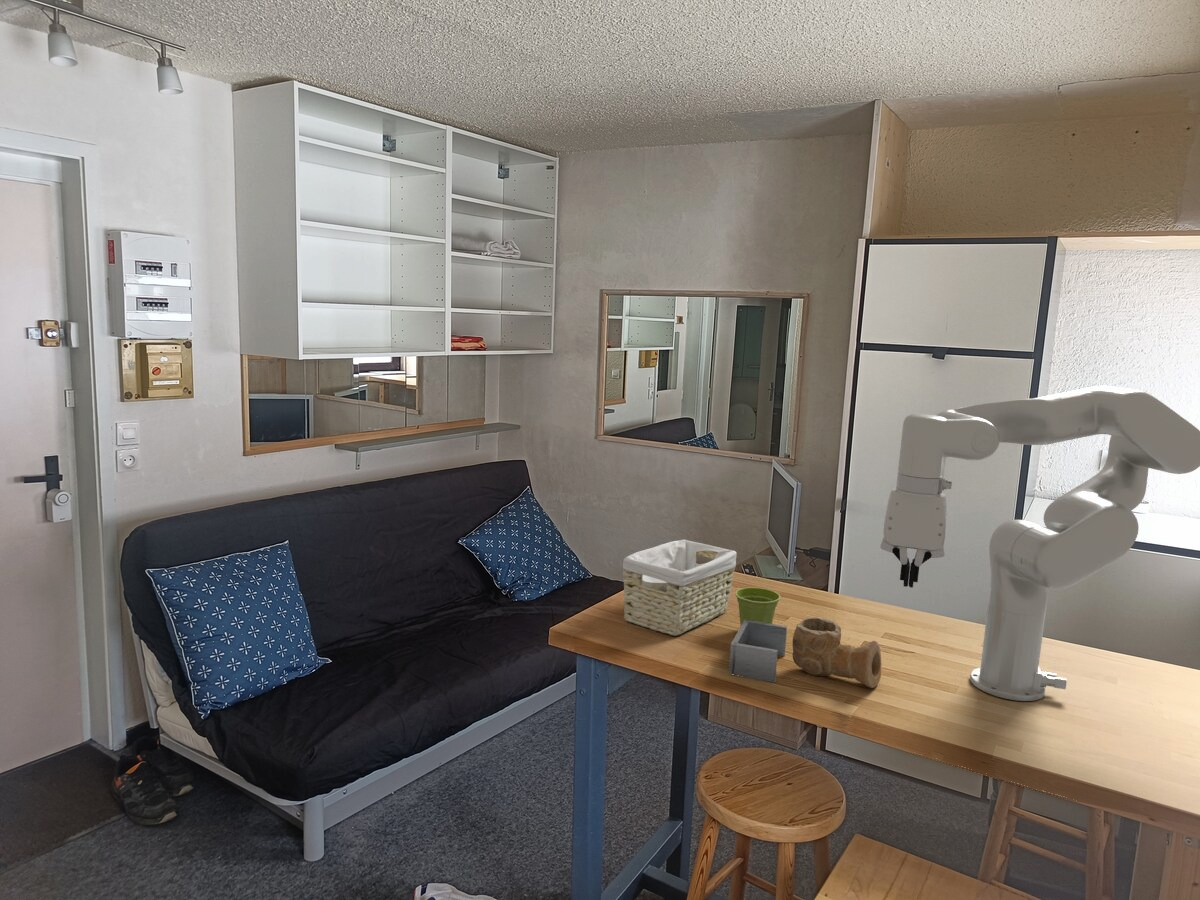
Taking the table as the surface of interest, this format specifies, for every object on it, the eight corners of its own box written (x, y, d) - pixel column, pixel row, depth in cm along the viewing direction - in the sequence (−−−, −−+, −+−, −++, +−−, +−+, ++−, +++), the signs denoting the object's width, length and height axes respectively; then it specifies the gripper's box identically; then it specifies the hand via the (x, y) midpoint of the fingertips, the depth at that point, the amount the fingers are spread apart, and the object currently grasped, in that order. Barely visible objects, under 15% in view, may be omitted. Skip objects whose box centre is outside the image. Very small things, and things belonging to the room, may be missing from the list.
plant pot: (754, 645, 170) (757, 604, 169) (723, 629, 178) (726, 591, 176) (786, 636, 175) (790, 597, 174) (755, 622, 183) (758, 584, 182)
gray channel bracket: (784, 654, 166) (787, 626, 165) (774, 682, 153) (776, 652, 152) (742, 647, 169) (744, 619, 168) (728, 674, 156) (730, 644, 155)
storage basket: (676, 595, 199) (680, 536, 196) (736, 612, 189) (740, 550, 186) (616, 622, 180) (619, 556, 178) (679, 642, 170) (683, 573, 168)
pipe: (874, 698, 148) (879, 645, 147) (784, 677, 155) (788, 626, 154) (881, 679, 156) (886, 629, 155) (796, 660, 163) (800, 612, 162)
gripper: (963, 486, 147) (951, 585, 150) (875, 476, 152) (865, 573, 155) (966, 493, 140) (954, 597, 143) (874, 483, 145) (863, 584, 148)
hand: (908, 584), depth 149 cm, fingers closed
